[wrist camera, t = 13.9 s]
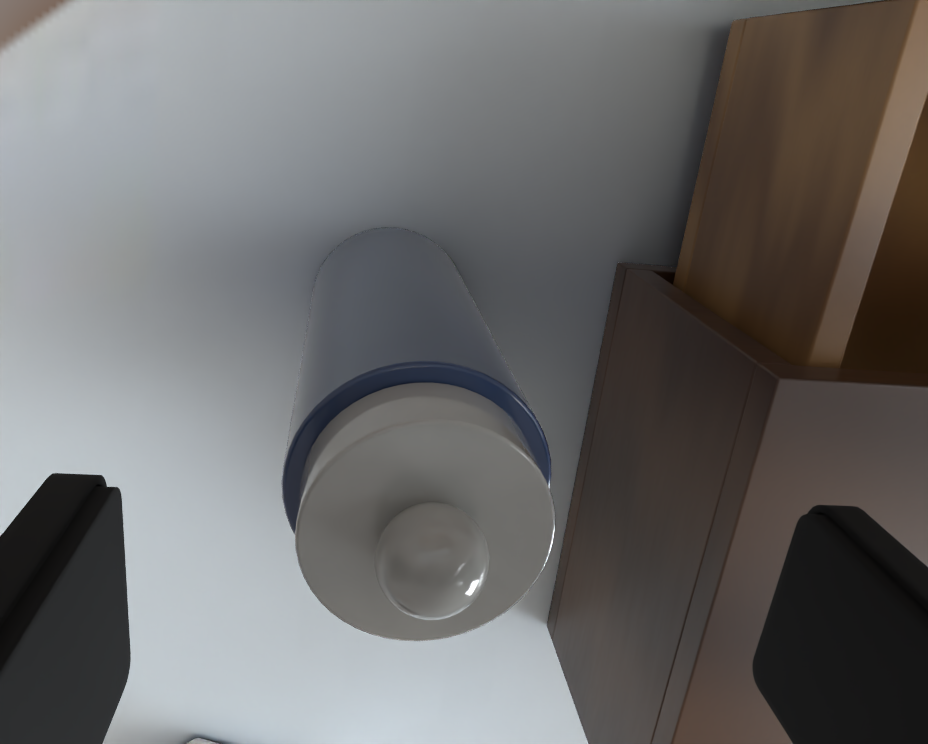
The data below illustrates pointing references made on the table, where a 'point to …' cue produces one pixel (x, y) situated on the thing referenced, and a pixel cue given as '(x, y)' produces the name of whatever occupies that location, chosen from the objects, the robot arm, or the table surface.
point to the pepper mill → (411, 449)
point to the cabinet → (710, 510)
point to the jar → (201, 741)
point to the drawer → (819, 188)
